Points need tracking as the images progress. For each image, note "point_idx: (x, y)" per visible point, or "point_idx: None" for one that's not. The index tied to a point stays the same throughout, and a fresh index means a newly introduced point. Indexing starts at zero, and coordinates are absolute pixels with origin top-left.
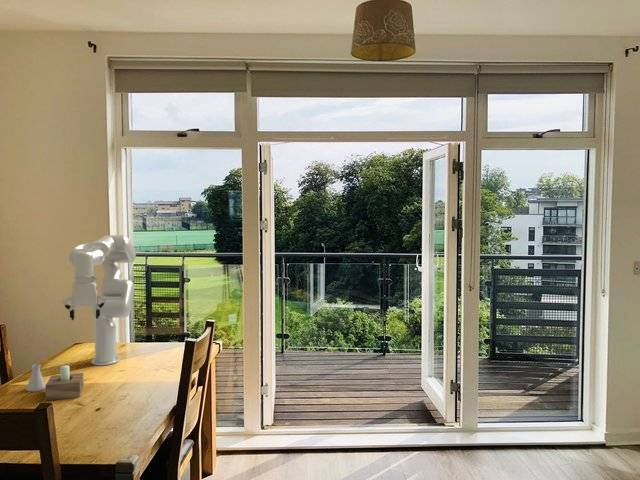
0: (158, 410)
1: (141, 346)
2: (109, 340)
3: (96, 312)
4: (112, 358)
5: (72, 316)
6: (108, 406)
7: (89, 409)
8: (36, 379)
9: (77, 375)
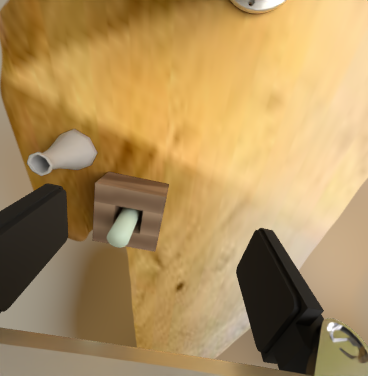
0: (247, 318)
1: None
2: None
3: (254, 326)
4: None
5: (40, 263)
6: (194, 284)
7: (168, 282)
8: (65, 168)
9: (152, 210)
